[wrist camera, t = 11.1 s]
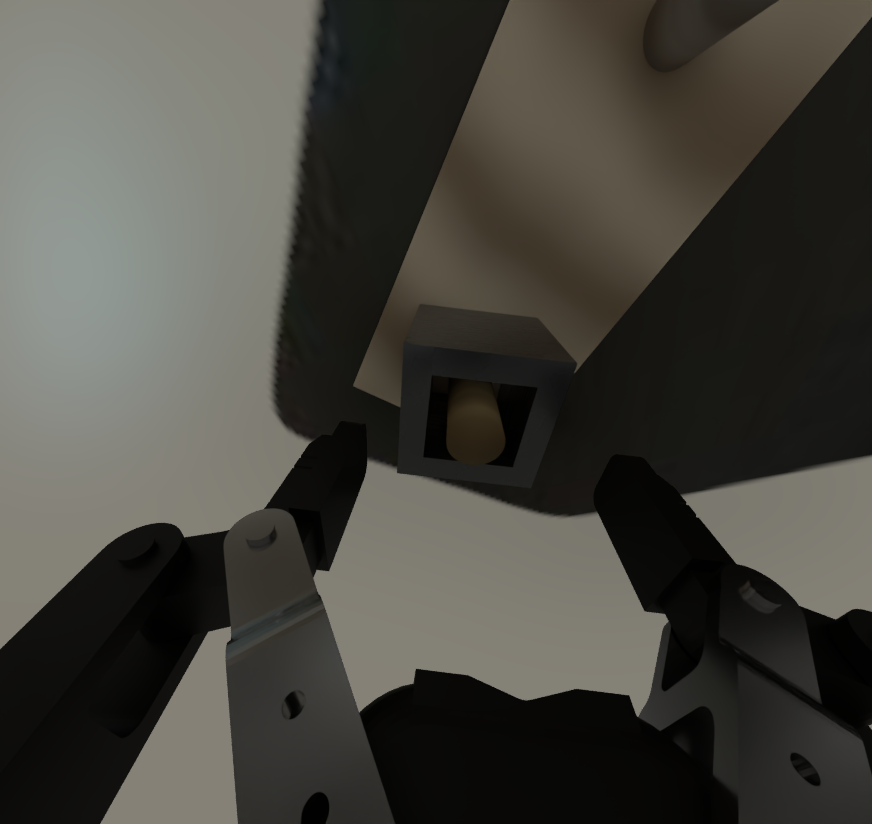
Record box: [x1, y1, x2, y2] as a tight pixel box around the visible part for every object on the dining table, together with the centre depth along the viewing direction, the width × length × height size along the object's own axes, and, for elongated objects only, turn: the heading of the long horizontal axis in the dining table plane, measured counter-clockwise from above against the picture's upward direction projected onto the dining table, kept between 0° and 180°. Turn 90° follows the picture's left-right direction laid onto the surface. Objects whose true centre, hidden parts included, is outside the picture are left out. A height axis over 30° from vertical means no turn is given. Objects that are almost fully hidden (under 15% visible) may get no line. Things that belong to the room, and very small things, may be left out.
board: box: [353, 0, 872, 465], centre depth 11 cm, size 21×10×8 cm, turn 153°
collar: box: [397, 304, 578, 488], centre depth 14 cm, size 6×6×6 cm
